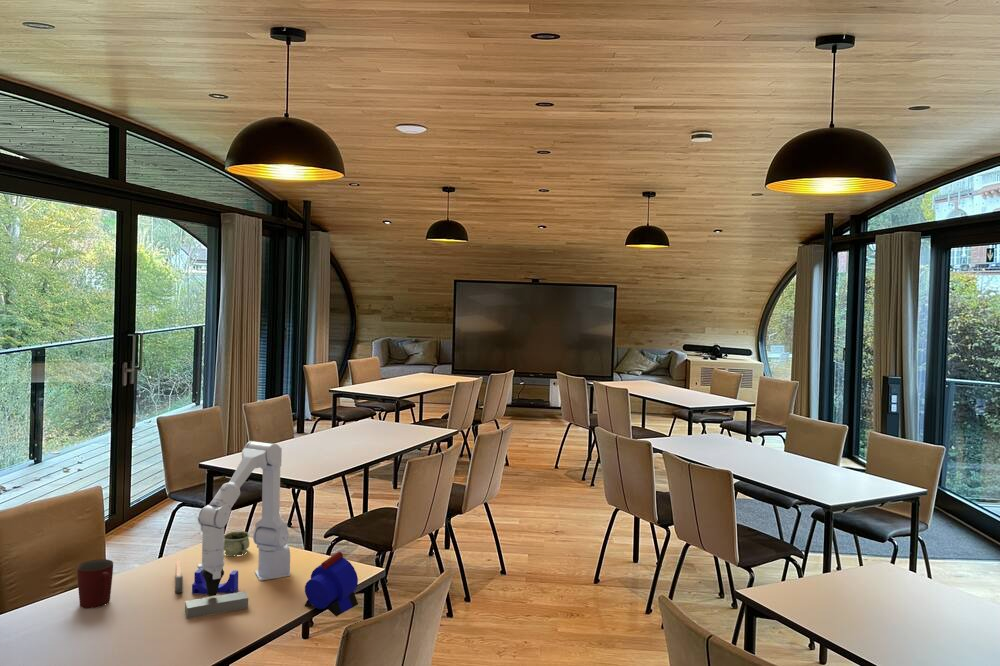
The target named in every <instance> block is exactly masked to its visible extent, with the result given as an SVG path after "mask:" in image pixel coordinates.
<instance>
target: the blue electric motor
mask: <svg viewBox="0 0 1000 666" xmlns="http://www.w3.org/2000/svg"><path fill="white" fill-rule="evenodd" d="M358 582H359V578H358V574H357V572H356V569H355V567H354V566H353V565H352V563H351V562H350V561H348V559H346V558H344V557H343V553H342V551H337V552H336V553H334V554H333V555H332V556H330V557H329V558H327V559H326V560H324V561H322V562H321V564H319V565H318V566H317V567H315V569H313V570H312V572H311V575H310V579H309V580H308V581H306V583H305V584H304V585H305V586H304V592H305V593H304V594H305V596H306V599H307V600H306V603H305V604H304V607H306V606H310V605H311V606H313V607H314V608H316V609H319V610H324V609H327V610H328V611H329V612H330V613H331V614H333V615H334V616H335V617H339V616H340V615H342V614H343V613H346V612H348V611H349V610H351V609H353V608H354V607H356V606H358V605H359V602H358V600H357V597H356V594H355V591H356V590H357V588H358Z"/></svg>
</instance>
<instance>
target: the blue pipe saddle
mask: <svg viewBox="0 0 1000 666" xmlns="http://www.w3.org/2000/svg"><path fill="white" fill-rule="evenodd" d="M201 570H203V569H202V568H201V569H198V568H197V570H196V571H194V581H193V582H192V584H191V594H193V595H194V594H195V595H208V593H207V588H206V582H205V578H204V576H203V574H202V572H201ZM238 590H239V570H237V569H235V570H232V571H231V572H230V573H229V576H228V580H227V581H226V582H224V583H219V587H218V591H217V594H231V593H237V591H238Z"/></svg>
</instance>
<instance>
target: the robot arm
mask: <svg viewBox="0 0 1000 666" xmlns="http://www.w3.org/2000/svg"><path fill="white" fill-rule="evenodd" d="M282 449H283V448H282V447H281V446H280V445H279V444H278V443H271V442H270V443H268V442H261V441H254V440H249V441H248V442H247V443H246V444H245V445H244V447H243V449H242V450H241V458H242V459H241V461H240V462H239V464H238V466H236V467H237V468H236V469H235V471H234V472H233V475H232V476H231V478H230V480H229V482H225V483H223V484H222V485H221V487H220V488H219V489H218V491H217V493H215V495H214V497H213V499H212V500H211V501H210V503H209V504H207V505H205V506H204V507H202V508H201V509H200V511H199V513H198V517H197V522H198V524H199V526H200V531H201V532H202V537H201V538H202V540H201V541H202V542H201V543H202V545H201V548H202V549H201V563H198V564H197V565H196V567H197V570H198V569H203V570H201V572H202V574H203V576H204V578H205V582H206V588H207V593H208V594H207V596H208V597H213V596H218V593H217V591H218V587H219V584H221V580H222V578H223V576H224V575H225V571H224V566H225V561H224V557H225V555H224V554H225V550H224V535H225V526H226V525H227V524H228V523H229V520H230V515H231V513H232V508H233V506H234V504H236V502H237V501H238V499H239V498H240V496H241V490H240V489H241V487H242V486H243V484H245V482H246V481H247V479H248V478H249V477H250V475H251V474H252V473H253V471H254V470H256V469H259V468H260V469H261V470H262V486H261V489H262V492H261V518H260V519H258V520H257V521H256V522H255V523H254V525H255V527H254V530H253V535H252V540H253V542H254V544H256V548H257V549H258V562H257V563H258V566H257V569H256V570H254V574H255V576H257V578H258V580H259V581H260V582H261V581H266V580H273V579H279V578H285V577H290V576H291V549H290V547H289V545H288V544H287V543H288V542H289V539H290V538H289V537H290V534H289V530H288V523H287V522H286V521H285V520H284V519H283V518H282V517H281V516H280V513H281V511H280V508H281V507H280V506H281V505H280V503H281V499H280V498H281V495H280V493H281V467H282Z"/></svg>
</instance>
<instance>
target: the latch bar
mask: <svg viewBox="0 0 1000 666" xmlns="http://www.w3.org/2000/svg"><path fill="white" fill-rule="evenodd" d="M183 577H184V576H183V575H182V571H181V560H180V559H175V577H174V578H175V580H174V593H175V594H179V593H182V592H183V589H184V588H183V585H184V582H183V581H184V579H183Z"/></svg>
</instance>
